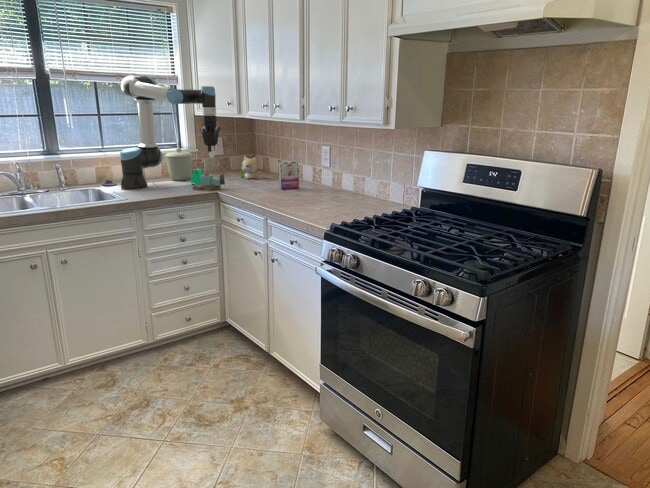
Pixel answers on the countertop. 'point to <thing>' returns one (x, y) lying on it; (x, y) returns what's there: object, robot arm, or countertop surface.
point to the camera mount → (196, 176)
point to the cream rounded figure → (249, 168)
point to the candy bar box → (288, 175)
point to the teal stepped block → (211, 180)
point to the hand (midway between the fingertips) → (211, 157)
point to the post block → (208, 188)
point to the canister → (179, 165)
